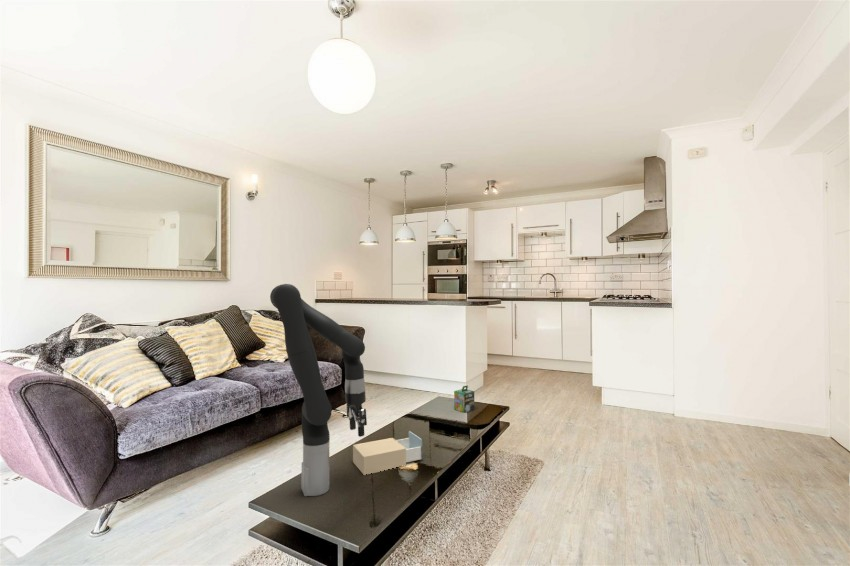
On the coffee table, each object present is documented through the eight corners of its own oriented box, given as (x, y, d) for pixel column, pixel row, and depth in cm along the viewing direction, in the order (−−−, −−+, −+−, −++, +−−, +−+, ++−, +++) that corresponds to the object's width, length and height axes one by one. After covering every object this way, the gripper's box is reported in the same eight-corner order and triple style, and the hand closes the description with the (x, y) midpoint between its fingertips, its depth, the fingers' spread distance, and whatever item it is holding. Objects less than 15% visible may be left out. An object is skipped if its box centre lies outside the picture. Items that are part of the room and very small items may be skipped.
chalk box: (464, 406, 246) (464, 383, 247) (475, 410, 239) (474, 385, 240) (453, 409, 241) (453, 385, 241) (464, 413, 234) (464, 387, 234)
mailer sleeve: (363, 475, 153) (363, 457, 153) (352, 461, 165) (353, 444, 165) (405, 465, 161) (405, 448, 161) (392, 453, 173) (392, 437, 174)
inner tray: (365, 471, 154) (365, 450, 154) (356, 460, 165) (356, 440, 165) (422, 458, 166) (422, 439, 166) (409, 449, 176) (409, 430, 177)
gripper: (339, 388, 154) (341, 429, 154) (352, 395, 142) (354, 441, 141) (357, 384, 158) (359, 425, 158) (371, 392, 146) (373, 436, 145)
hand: (357, 432), depth 150 cm, fingers open, 8 cm apart
